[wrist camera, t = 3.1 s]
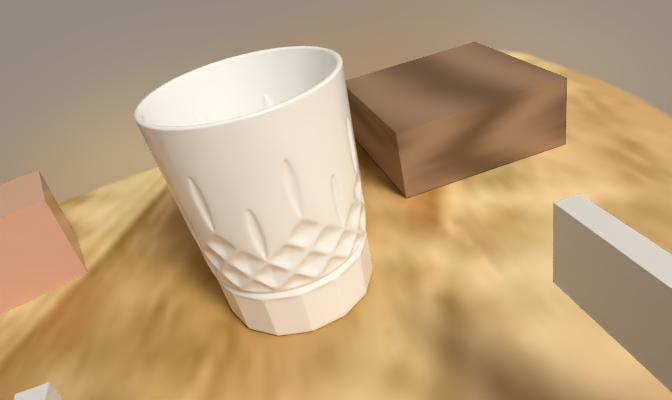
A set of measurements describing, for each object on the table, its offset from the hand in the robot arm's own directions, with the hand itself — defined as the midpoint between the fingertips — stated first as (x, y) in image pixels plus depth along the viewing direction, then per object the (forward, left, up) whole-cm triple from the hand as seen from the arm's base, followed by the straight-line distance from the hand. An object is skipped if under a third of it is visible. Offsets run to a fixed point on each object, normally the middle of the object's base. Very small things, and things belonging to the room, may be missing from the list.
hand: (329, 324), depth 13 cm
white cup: (0, +10, -6) cm, 11 cm away
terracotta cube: (-14, +19, -6) cm, 24 cm away
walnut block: (+12, +19, -6) cm, 23 cm away
